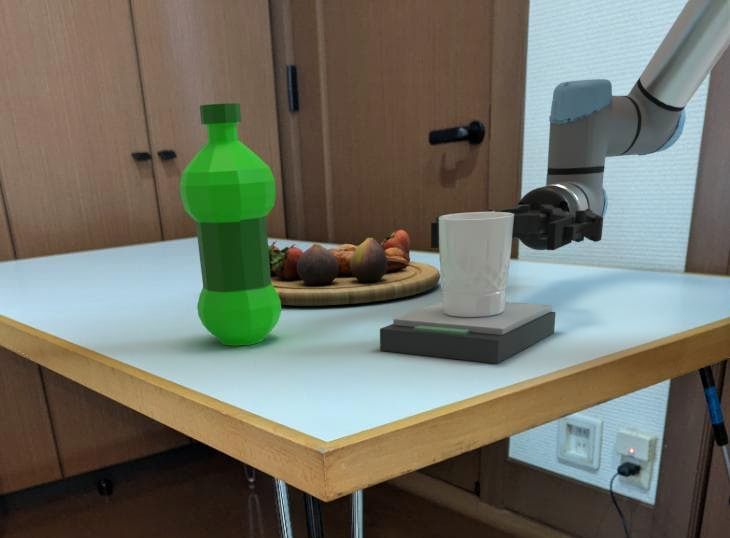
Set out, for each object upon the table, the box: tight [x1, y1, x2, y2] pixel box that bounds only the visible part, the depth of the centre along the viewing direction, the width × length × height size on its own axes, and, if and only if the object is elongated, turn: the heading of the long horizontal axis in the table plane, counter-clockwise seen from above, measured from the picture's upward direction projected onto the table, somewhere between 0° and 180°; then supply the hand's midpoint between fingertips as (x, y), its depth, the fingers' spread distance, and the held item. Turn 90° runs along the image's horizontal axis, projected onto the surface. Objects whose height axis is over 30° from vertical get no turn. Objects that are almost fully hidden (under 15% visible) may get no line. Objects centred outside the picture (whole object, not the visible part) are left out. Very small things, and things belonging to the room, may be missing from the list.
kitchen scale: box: [379, 300, 557, 365], centre depth 89 cm, size 14×15×3 cm
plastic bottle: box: [179, 102, 282, 347], centre depth 91 cm, size 10×10×25 cm
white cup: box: [438, 211, 514, 317], centre depth 87 cm, size 8×8×10 cm
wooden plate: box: [268, 229, 441, 307], centre depth 124 cm, size 32×32×8 cm
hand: (490, 236), depth 88 cm, fingers open, 13 cm apart
